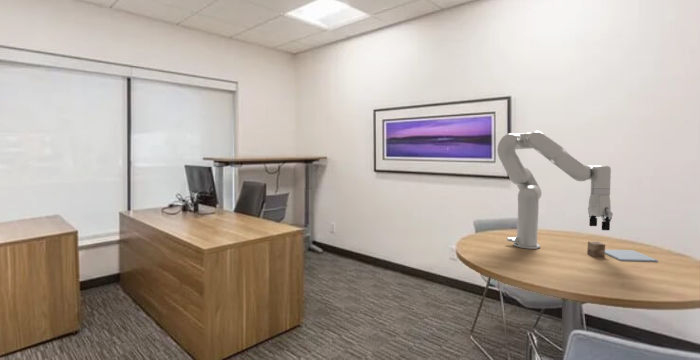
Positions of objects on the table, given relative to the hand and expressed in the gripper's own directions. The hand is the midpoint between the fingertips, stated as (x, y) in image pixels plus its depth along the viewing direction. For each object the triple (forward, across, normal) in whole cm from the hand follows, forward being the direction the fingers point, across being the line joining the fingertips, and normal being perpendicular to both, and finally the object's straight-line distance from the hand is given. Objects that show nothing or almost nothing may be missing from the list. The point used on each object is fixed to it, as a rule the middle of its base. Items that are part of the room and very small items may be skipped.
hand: (599, 228), depth 173 cm
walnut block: (+13, 0, -1) cm, 13 cm away
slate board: (+14, 0, +13) cm, 19 cm away
